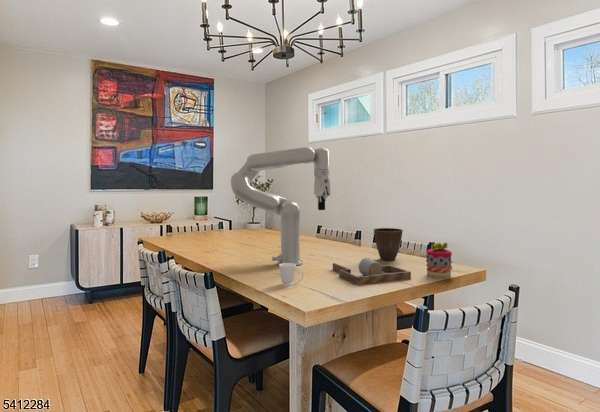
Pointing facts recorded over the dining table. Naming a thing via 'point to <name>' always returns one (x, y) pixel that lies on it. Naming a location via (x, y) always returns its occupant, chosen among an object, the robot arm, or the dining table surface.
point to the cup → (288, 273)
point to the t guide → (392, 276)
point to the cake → (439, 261)
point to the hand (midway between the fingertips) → (321, 209)
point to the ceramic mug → (370, 267)
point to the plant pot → (388, 242)
